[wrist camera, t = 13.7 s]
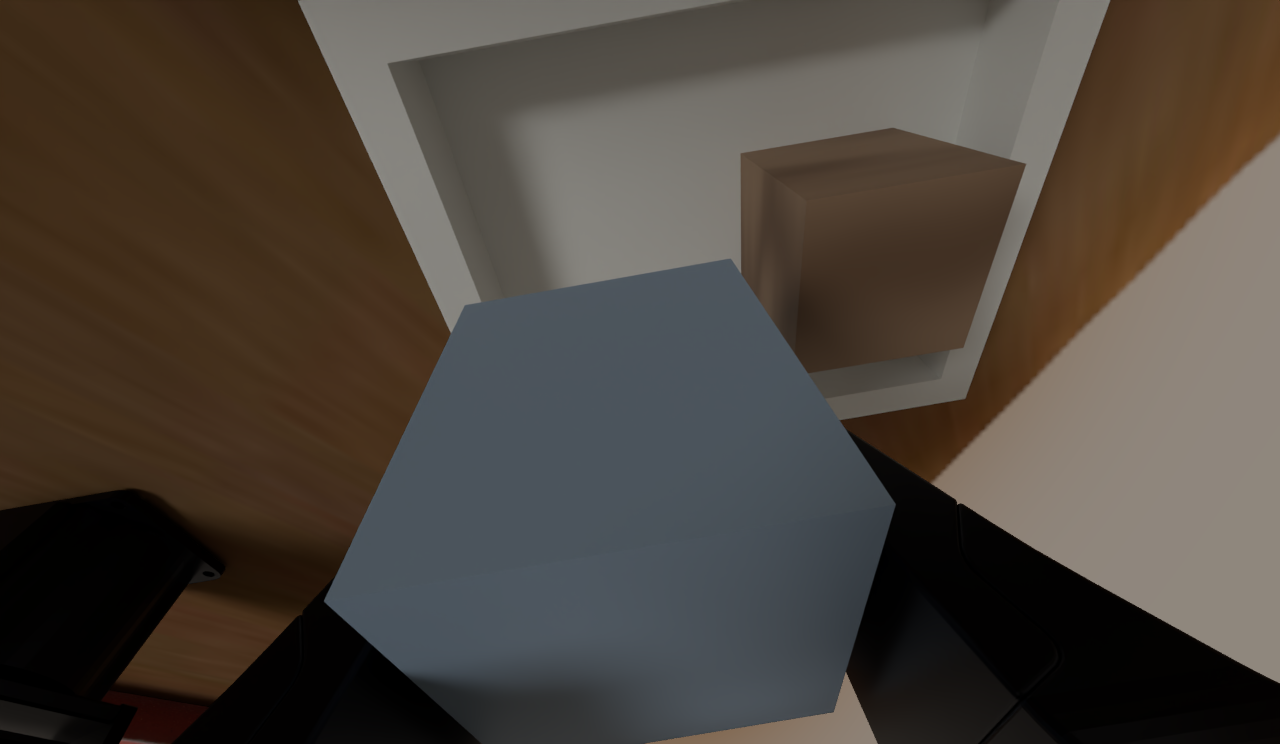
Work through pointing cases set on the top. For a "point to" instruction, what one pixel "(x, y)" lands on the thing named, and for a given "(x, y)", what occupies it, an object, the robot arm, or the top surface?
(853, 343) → the walnut block
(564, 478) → the slate block
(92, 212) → the top surface
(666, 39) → the tray
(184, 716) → the plant saucer
